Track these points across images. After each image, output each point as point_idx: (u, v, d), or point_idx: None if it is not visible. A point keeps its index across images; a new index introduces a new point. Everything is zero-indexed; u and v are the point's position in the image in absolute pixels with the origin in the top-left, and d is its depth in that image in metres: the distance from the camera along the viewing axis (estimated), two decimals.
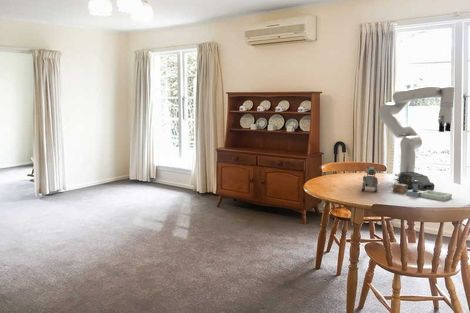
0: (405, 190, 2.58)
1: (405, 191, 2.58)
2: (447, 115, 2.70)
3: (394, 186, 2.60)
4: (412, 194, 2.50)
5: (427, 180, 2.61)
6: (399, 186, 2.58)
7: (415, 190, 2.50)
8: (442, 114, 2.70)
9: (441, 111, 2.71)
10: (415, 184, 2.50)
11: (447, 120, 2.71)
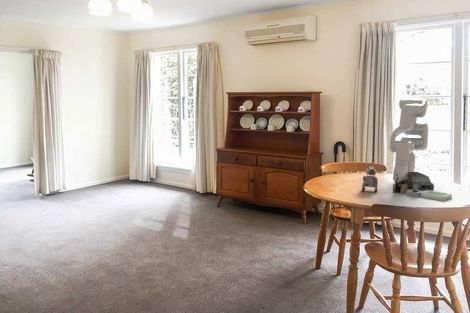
0: (405, 189, 2.58)
1: (405, 191, 2.58)
2: (402, 173, 2.55)
3: (394, 186, 2.60)
4: (412, 194, 2.50)
5: (427, 180, 2.61)
6: None
7: (415, 190, 2.50)
8: (396, 172, 2.55)
9: (395, 169, 2.56)
10: (415, 184, 2.50)
11: (402, 178, 2.56)
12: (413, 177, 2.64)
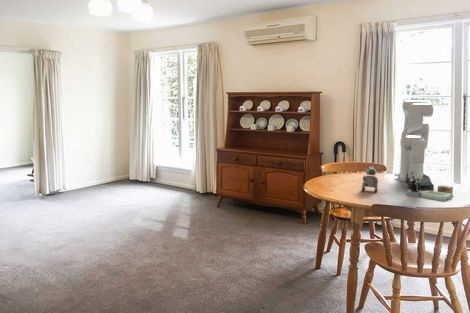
0: (451, 192, 2.53)
1: (450, 193, 2.53)
2: (417, 171, 2.46)
3: (439, 188, 2.55)
4: (412, 194, 2.50)
5: (428, 181, 2.60)
6: (444, 188, 2.53)
7: None
8: (412, 170, 2.47)
9: (411, 167, 2.48)
10: None
11: (417, 177, 2.48)
12: None
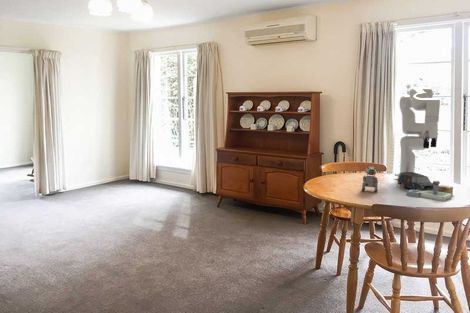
0: (451, 192, 2.53)
1: (450, 193, 2.53)
2: (432, 130, 2.49)
3: (439, 188, 2.56)
4: (412, 194, 2.50)
5: (428, 180, 2.60)
6: (444, 188, 2.53)
7: (436, 191, 2.45)
8: (427, 129, 2.49)
9: (425, 126, 2.50)
10: (436, 185, 2.44)
11: (432, 135, 2.50)
12: (413, 178, 2.62)
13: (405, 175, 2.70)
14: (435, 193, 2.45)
